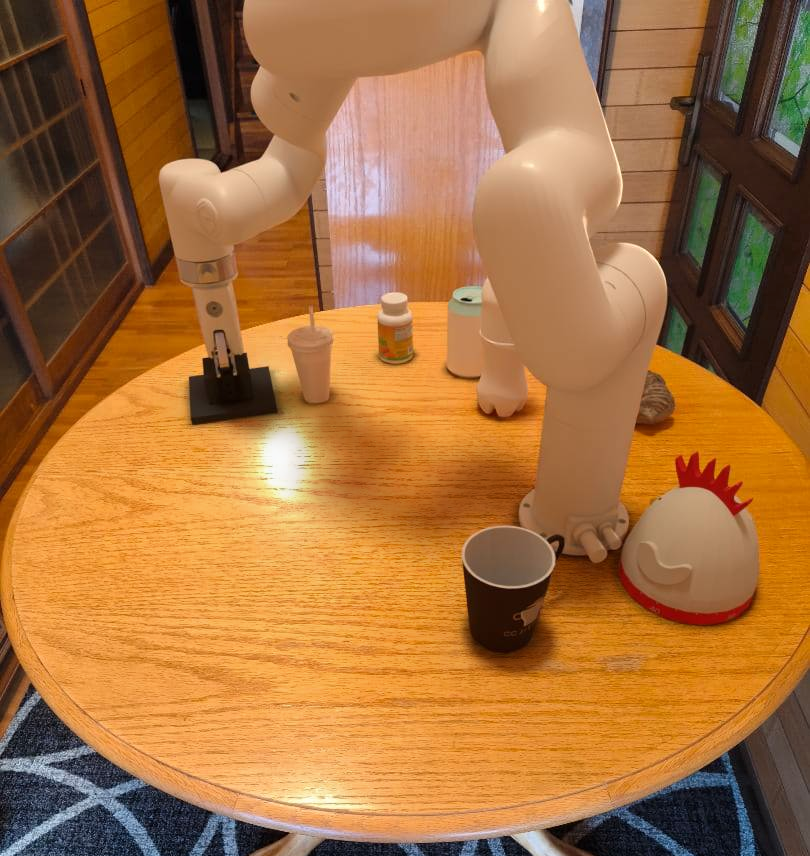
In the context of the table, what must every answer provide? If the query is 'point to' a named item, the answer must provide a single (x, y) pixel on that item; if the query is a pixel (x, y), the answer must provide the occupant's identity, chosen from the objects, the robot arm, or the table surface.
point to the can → (465, 332)
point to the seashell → (655, 400)
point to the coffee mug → (506, 584)
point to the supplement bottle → (395, 329)
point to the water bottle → (499, 362)
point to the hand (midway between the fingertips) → (230, 386)
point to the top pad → (210, 373)
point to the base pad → (232, 409)
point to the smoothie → (312, 359)
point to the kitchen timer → (693, 549)
